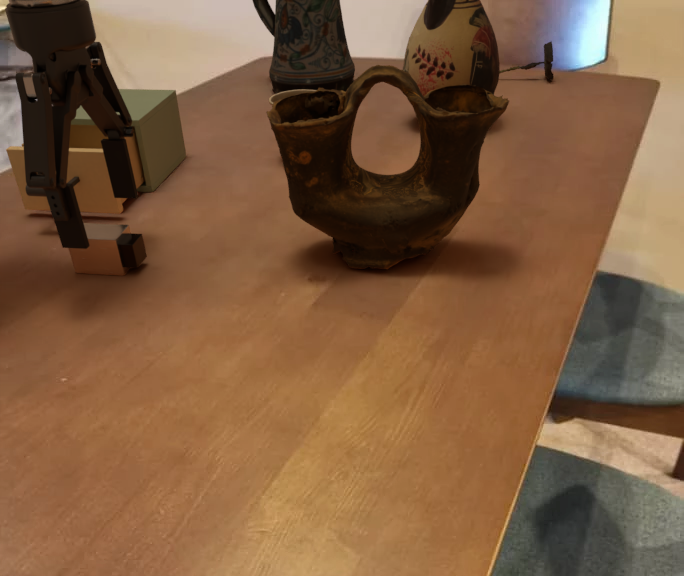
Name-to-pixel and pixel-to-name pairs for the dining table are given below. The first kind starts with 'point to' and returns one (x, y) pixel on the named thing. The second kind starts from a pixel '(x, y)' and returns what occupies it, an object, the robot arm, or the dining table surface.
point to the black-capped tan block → (109, 250)
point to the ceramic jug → (453, 47)
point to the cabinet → (151, 132)
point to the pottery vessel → (376, 189)
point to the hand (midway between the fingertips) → (103, 220)
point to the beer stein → (307, 45)
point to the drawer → (81, 172)
